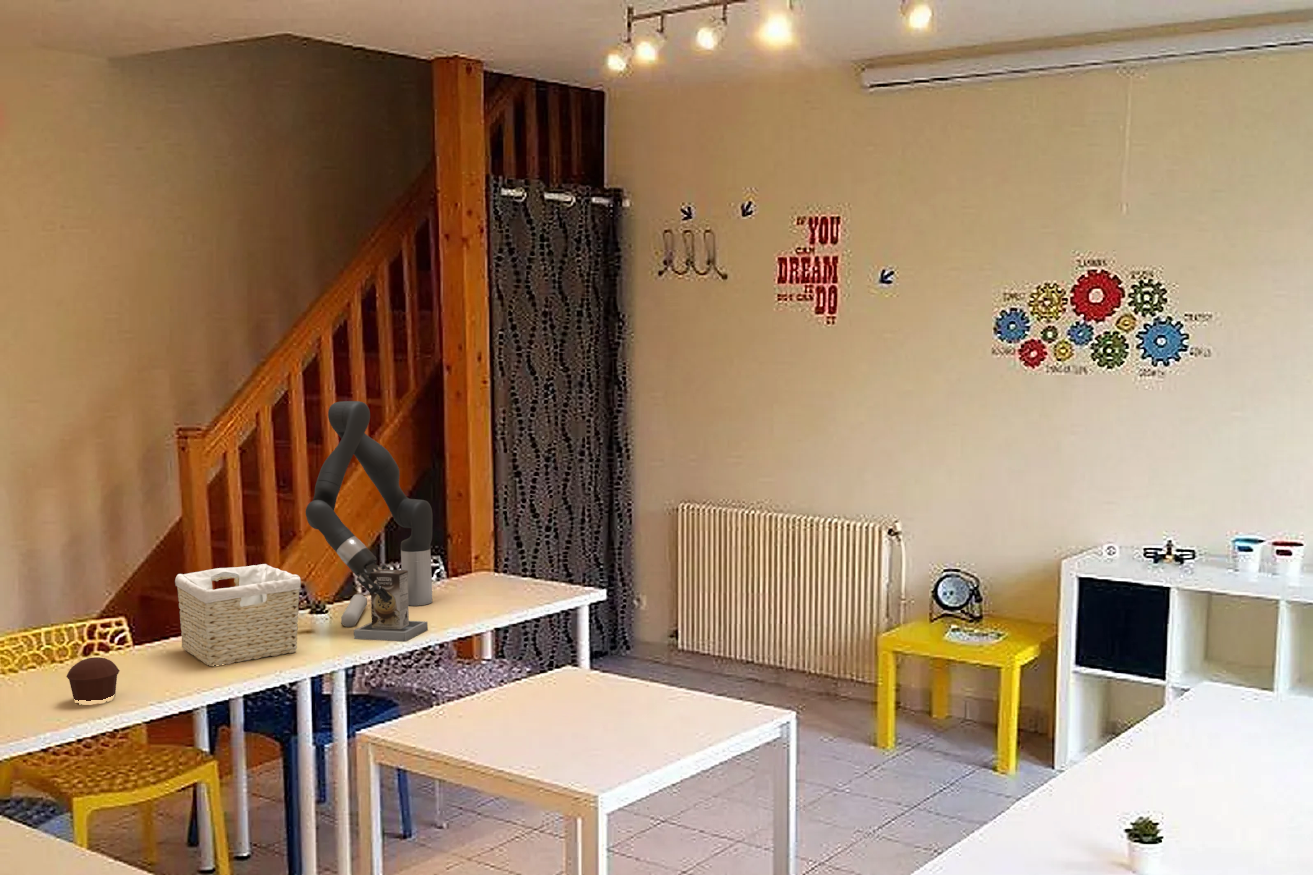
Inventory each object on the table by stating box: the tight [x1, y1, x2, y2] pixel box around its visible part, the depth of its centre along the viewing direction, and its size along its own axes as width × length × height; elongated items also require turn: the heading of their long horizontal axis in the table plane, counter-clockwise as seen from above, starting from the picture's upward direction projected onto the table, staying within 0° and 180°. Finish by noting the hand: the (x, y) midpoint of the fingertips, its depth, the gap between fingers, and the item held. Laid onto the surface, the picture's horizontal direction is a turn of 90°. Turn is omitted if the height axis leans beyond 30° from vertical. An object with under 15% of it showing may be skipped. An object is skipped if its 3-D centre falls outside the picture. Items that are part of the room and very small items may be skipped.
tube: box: [340, 593, 368, 628], centre depth 397 cm, size 5×5×25 cm
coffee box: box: [370, 569, 410, 629], centre depth 375 cm, size 9×6×16 cm
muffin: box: [65, 656, 121, 701], centre depth 313 cm, size 12×11×10 cm
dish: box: [353, 620, 429, 642], centre depth 375 cm, size 14×16×2 cm
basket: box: [174, 563, 302, 667], centre depth 358 cm, size 27×27×22 cm
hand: (394, 597), depth 374 cm, fingers closed on coffee box, 6 cm apart
